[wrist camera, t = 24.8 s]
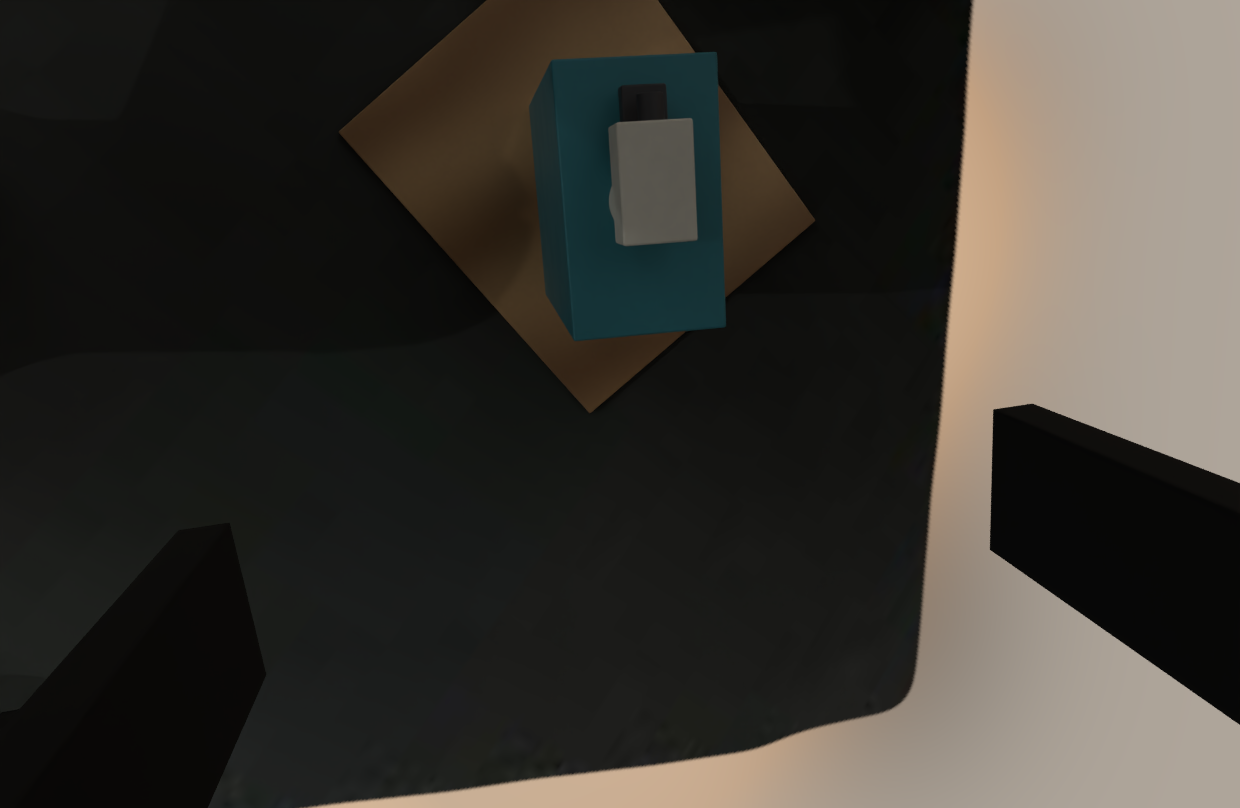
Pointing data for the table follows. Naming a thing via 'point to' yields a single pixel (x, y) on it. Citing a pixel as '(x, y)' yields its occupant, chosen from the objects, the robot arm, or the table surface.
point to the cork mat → (505, 176)
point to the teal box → (630, 193)
